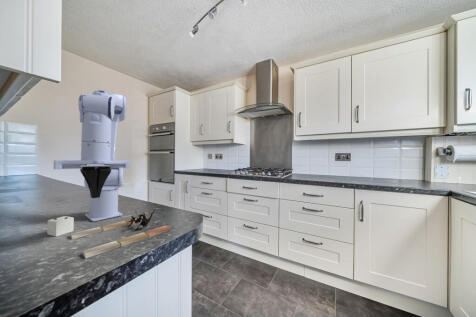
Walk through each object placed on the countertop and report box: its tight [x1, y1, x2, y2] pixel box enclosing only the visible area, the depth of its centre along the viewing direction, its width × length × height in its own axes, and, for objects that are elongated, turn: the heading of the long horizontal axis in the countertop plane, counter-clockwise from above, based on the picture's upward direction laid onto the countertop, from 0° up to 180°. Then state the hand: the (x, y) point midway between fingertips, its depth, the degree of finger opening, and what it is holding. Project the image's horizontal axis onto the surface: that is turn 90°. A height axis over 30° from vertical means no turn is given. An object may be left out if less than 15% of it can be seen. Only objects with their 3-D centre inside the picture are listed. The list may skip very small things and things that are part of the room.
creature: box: [122, 209, 156, 231], centre depth 49 cm, size 8×5×8 cm
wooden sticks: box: [69, 216, 172, 259], centre depth 45 cm, size 15×18×1 cm
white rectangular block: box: [46, 215, 75, 237], centre depth 44 cm, size 4×4×4 cm
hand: (95, 197), depth 43 cm, fingers closed
